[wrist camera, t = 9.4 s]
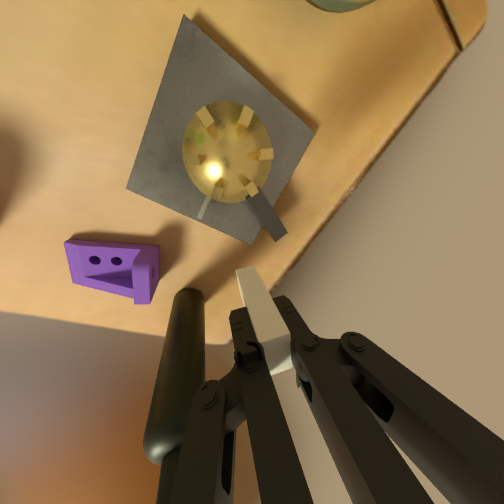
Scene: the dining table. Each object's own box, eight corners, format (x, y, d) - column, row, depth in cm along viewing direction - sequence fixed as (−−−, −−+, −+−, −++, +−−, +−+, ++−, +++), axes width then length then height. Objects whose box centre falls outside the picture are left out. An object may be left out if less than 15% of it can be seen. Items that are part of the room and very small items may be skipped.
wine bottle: (202, 311, 38) (202, 644, 11) (172, 311, 36) (89, 706, 9) (206, 288, 36) (216, 628, 9) (175, 287, 34) (77, 704, 7)
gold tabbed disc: (166, 145, 23) (158, 140, 19) (234, 90, 22) (241, 72, 18) (248, 249, 32) (255, 260, 28) (299, 211, 31) (313, 217, 27)
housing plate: (185, 27, 21) (183, 12, 19) (308, 134, 29) (316, 132, 27) (131, 187, 26) (125, 188, 24) (248, 241, 34) (251, 245, 32)
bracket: (159, 244, 30) (148, 263, 24) (159, 279, 33) (150, 304, 27) (70, 238, 27) (32, 258, 21) (78, 277, 29) (46, 305, 23)
